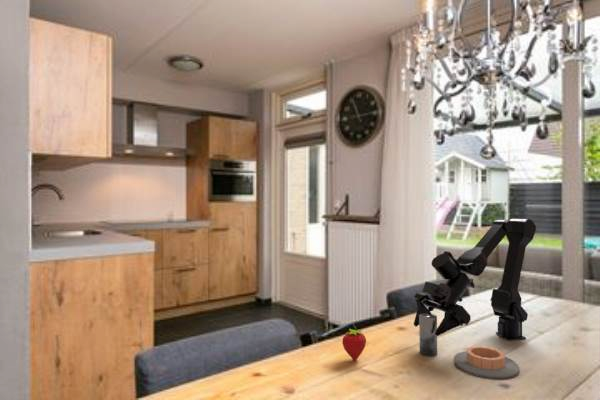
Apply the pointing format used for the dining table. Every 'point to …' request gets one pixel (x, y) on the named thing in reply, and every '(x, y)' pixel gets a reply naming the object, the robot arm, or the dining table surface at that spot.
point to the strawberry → (354, 343)
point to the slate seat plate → (487, 372)
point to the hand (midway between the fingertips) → (425, 330)
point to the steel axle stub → (428, 334)
